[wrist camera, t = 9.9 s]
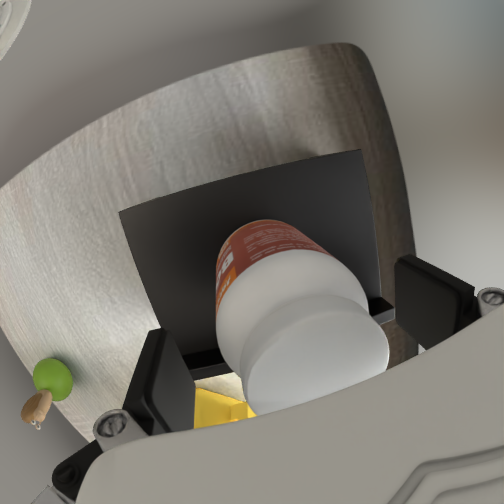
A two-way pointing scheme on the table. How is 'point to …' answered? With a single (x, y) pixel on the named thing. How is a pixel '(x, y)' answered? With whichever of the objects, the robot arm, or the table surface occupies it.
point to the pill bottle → (292, 318)
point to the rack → (231, 219)
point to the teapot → (218, 409)
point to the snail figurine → (47, 389)
